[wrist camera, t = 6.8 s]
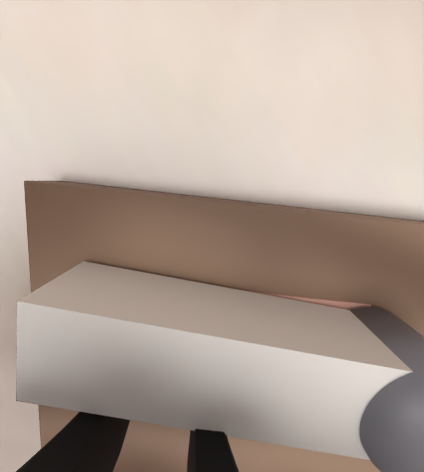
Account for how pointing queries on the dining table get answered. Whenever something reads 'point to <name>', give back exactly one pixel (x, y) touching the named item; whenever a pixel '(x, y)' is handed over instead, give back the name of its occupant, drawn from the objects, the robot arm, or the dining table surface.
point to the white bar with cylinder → (225, 363)
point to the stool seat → (225, 280)
